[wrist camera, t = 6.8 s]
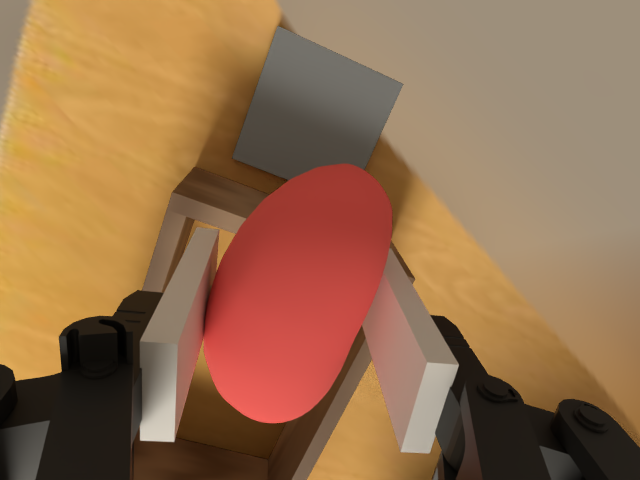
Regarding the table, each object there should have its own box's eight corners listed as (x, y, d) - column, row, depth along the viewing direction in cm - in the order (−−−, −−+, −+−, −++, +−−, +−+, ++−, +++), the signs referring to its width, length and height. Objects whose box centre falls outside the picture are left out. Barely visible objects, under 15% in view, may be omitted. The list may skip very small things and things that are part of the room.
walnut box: (391, 240, 30) (415, 279, 25) (275, 470, 37) (273, 540, 32) (194, 166, 27) (172, 192, 22) (109, 432, 35) (76, 501, 29)
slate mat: (400, 83, 26) (403, 83, 26) (347, 200, 29) (349, 203, 28) (277, 26, 25) (277, 25, 24) (232, 156, 27) (231, 158, 27)
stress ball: (163, 285, 17) (166, 453, 14) (263, 110, 12) (312, 309, 8) (276, 298, 20) (304, 440, 17) (399, 161, 15) (480, 326, 11)
